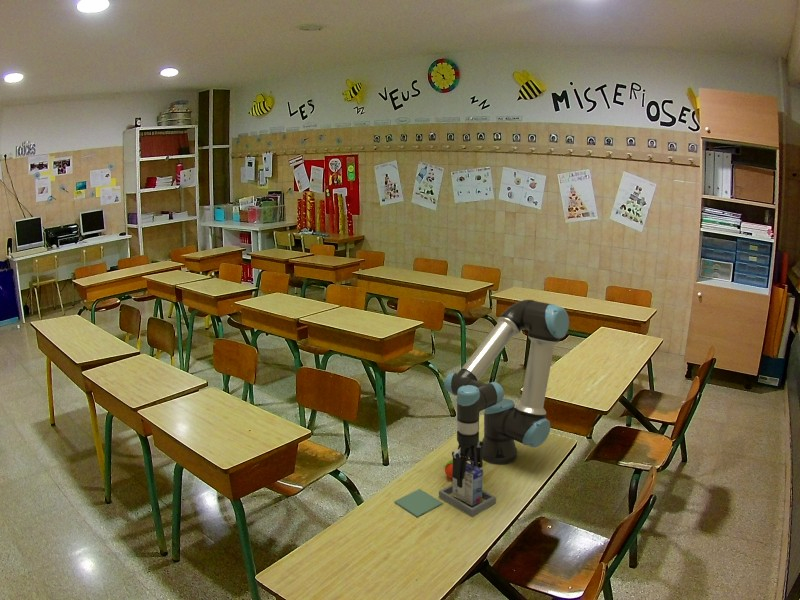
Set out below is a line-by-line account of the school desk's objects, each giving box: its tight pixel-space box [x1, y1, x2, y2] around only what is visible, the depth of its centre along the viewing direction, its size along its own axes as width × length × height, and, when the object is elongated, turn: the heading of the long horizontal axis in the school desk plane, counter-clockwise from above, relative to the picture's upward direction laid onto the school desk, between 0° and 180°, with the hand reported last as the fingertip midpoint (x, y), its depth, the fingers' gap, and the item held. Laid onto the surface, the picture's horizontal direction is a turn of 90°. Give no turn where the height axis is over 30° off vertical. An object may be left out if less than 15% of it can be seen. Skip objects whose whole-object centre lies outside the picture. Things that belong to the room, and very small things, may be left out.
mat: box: [394, 488, 444, 518], centre depth 214 cm, size 12×12×1 cm
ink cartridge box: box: [451, 458, 484, 507], centre depth 214 cm, size 10×6×14 cm, turn 43°
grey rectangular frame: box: [438, 483, 497, 518], centre depth 216 cm, size 12×16×2 cm
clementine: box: [442, 459, 453, 480], centre depth 230 cm, size 8×7×7 cm
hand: (467, 490), depth 215 cm, fingers closed on ink cartridge box, 5 cm apart
